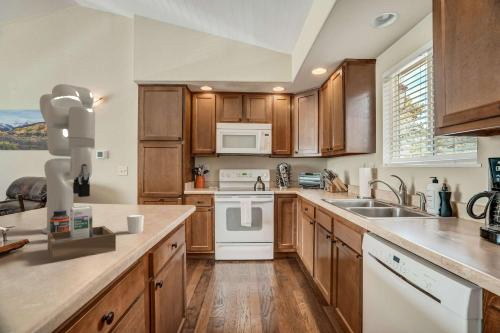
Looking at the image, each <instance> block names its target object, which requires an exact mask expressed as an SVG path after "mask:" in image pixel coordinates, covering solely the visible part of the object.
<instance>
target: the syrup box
mask: <svg viewBox="0 0 500 333" xmlns="http://www.w3.org/2000/svg"><path fill="white" fill-rule="evenodd" d="M93 227H94V226H93V207H92V206H91V205H84V206H74V207H71V208H70V240H75V239H82V238H89V237H93Z"/></svg>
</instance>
